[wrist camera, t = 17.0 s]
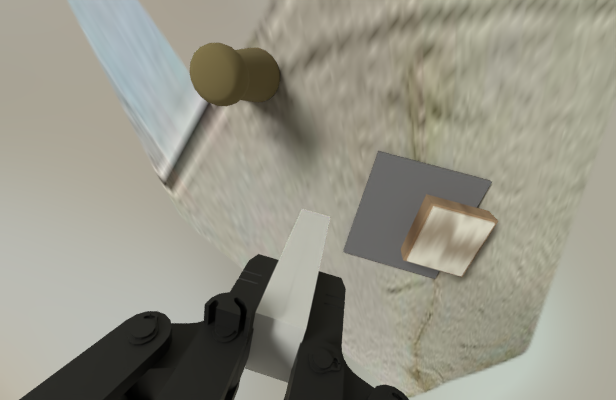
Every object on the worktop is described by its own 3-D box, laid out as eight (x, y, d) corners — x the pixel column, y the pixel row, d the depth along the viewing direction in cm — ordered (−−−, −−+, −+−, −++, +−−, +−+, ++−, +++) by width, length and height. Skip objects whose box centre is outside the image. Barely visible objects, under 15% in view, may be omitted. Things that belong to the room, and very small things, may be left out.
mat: (378, 150, 33) (378, 152, 33) (489, 180, 32) (491, 181, 32) (343, 249, 41) (343, 252, 40) (433, 276, 40) (434, 278, 39)
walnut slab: (431, 204, 31) (499, 222, 31) (426, 194, 34) (488, 211, 33) (403, 262, 35) (463, 279, 35) (400, 248, 38) (455, 264, 37)
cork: (248, 110, 34) (203, 124, 24) (223, 63, 32) (163, 58, 22) (288, 88, 32) (257, 93, 22) (264, 36, 30) (218, 18, 20)
